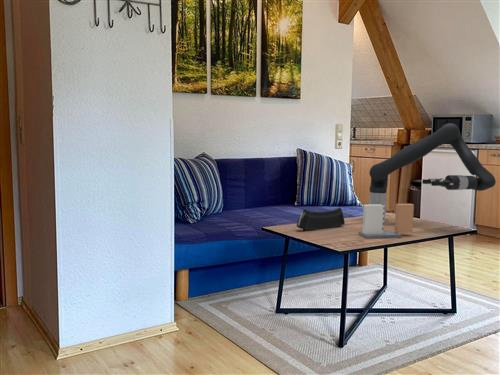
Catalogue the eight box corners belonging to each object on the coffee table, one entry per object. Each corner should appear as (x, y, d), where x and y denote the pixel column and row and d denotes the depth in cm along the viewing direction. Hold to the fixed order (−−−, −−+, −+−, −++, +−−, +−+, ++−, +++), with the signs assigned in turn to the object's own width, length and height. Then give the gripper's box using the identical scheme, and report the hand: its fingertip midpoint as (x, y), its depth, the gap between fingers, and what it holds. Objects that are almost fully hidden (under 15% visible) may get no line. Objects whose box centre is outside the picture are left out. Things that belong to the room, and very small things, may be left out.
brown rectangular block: (394, 231, 250) (395, 203, 249) (409, 231, 252) (410, 203, 250) (397, 232, 247) (398, 204, 246) (412, 232, 249) (413, 204, 247)
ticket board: (358, 234, 251) (359, 203, 249) (392, 233, 254) (393, 202, 252) (366, 238, 241) (368, 206, 239) (401, 237, 244) (403, 205, 242)
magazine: (344, 209, 273) (303, 196, 256) (348, 210, 270) (307, 197, 253) (336, 239, 272) (295, 228, 255) (340, 240, 269) (299, 229, 253)
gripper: (448, 173, 263) (420, 173, 260) (465, 176, 249) (435, 176, 246) (447, 188, 264) (419, 188, 261) (464, 191, 250) (434, 191, 247)
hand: (427, 182), depth 253 cm, fingers open, 8 cm apart
